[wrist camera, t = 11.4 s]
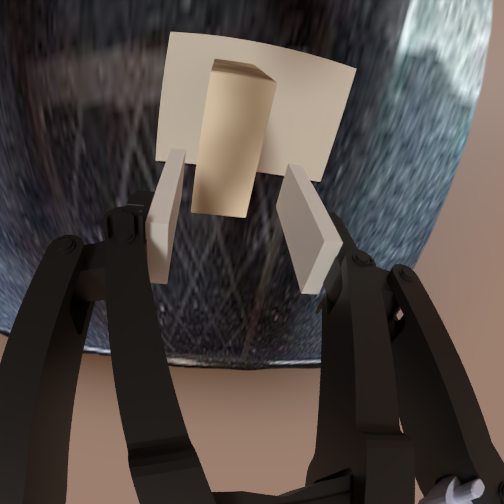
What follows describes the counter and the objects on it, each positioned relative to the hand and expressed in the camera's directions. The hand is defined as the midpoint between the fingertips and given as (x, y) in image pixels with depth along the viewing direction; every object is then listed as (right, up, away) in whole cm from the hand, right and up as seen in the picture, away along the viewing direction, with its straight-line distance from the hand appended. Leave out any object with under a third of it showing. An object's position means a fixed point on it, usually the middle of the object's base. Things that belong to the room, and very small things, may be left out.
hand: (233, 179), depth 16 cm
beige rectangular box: (-2, +12, +14) cm, 18 cm away
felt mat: (+1, +12, +15) cm, 19 cm away
